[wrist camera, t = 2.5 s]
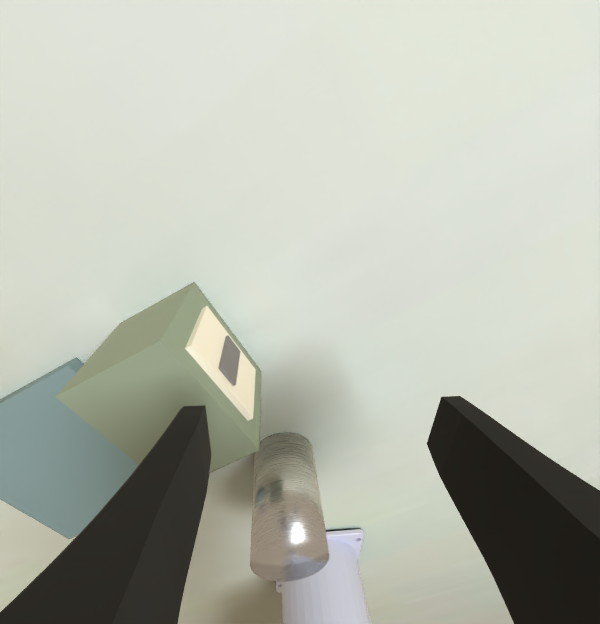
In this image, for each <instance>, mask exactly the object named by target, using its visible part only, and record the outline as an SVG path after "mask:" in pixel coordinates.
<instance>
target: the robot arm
mask: <svg viewBox="0 0 600 624" xmlns="http://www.w3.org/2000/svg"><path fill="white" fill-rule="evenodd" d="M427 445H428V448H429V450H430V453H431V455H432V458H433V461H434V463H435V466H436V468H437V470H438V473H439V475H440V477H441V479H442V481H443V483H444V485H445V487H446V489H447V491H448V493H449V494H450V496H451V498H452V500H453V502H454V504H455V506H456V508H457V509H458V511H459V513H460V515H461V517H462V519H463V520H464V522H465V524H466V526H467V528H468V530H469V531H470V533H471V535H472V537H473V539H474V541H475V542H476V544H477V546H478V548H479V550H480V552H481V553H482V555H483V557H484V559H485V561H486V563H487V565H488V567H489V569H490V571H491V573H492V575H493V577H494V579H495V581H496V584H497V586H498V588H499V590H500V593H501V595H502V597H503V599H504V602H505V604H506V606H507V608H508V611H509V613H510V615H511V617H512V620H513V622H514V624H600V491H599V490H598V489H596V488H595V487H593V486H591V485H590V484H588V483H587V482H585V481H583V480H582V479H580V478H579V477H577V476H576V475H574V474H573V473H571V472H569V471H568V470H566V469H565V468H563V467H562V466H560V465H559V464H557V463H556V462H554V461H553V460H551V459H550V458H548V457H547V456H545V455H544V454H542V453H541V452H539V451H538V450H536V449H535V448H534V447H532V446H531V445H529V444H528V443H526V442H525V441H524V440H522V439H521V438H519V437H518V436H516V435H515V434H514V433H512V432H511V431H509V430H508V429H507V428H505V427H504V426H502V425H501V424H500V423H498V422H497V421H495V420H494V419H493V418H491V417H490V416H488V415H487V414H485V413H484V412H483V411H481V410H480V409H478V408H477V407H476V406H474V405H473V404H471V403H470V402H468V401H467V400H465V399H464V398H462V397H460V396H452V397H441V400H440V403H439V407H438V410H437V413H436V416H435V419H434V423H433V426H432V429H431V432H430V435H429V439H428V442H427ZM210 463H211V447H210V439H209V431H208V423H207V414H206V406H205V405H203V406H183V407H182V408H181V409H180V410H179V412H178V413H177V415H176V416H175V418H174V419H173V420H172V422H171V423H170V425H169V426H168V427H167V429H166V430H165V432H164V433H163V434H162V436H161V437H160V438H159V440H158V441H157V442H156V444H155V445H154V446H153V448H152V449H151V450H150V452H149V453H148V454H147V455H146V457H145V458H144V459H143V460H142V462H141V463H140V464H139V466H138V467H137V468H136V469H135V471H134V472H133V473H132V474H131V476H130V477H129V478H128V479H127V480H126V482H125V483H124V484H123V485H122V486H121V487H120V489H119V490H118V491H117V492H116V493H115V494H114V496H113V497H112V498H111V499H110V500H109V501H108V503H107V504H106V505H105V506H104V507H103V508H102V510H101V511H100V512H99V513H98V514H97V515H96V516H95V517H94V518H93V520H92V521H91V522H90V523H89V524H88V525H87V526H86V527H85V528H84V529H83V530H82V532H81V533H80V534H79V535H78V536H77V537H76V538H75V539H74V540H73V541H72V542H71V543H70V544H69V545H68V546H67V547H66V548H65V549H64V550H63V551H62V552H61V553H60V555H59V556H58V557H57V558H56V559H55V560H54V561H53V562H52V563H51V564H50V565H49V566H48V567H47V568H46V569H45V570H44V571H43V572H42V573H40V574H39V575H38V576H37V577H36V578H35V579H34V580H33V581H32V582H31V583H30V584H29V585H28V586H27V587H26V588H25V589H24V590H23V591H22V592H21V593H20V594H19V595H18V596H17V597H16V598H15V599H14V600H13V601H12V602H11V603H10V604H9V605H8V606H7V607H5V608H4V609H3V610H2V611H1V612H0V624H177V623H178V617H179V611H180V606H181V601H182V596H183V591H184V586H185V582H186V577H187V573H188V569H189V565H190V561H191V556H192V552H193V548H194V544H195V539H196V535H197V531H198V527H199V523H200V518H201V514H202V510H203V505H204V501H205V497H206V492H207V486H208V478H209V471H210ZM326 537H327V543H328V550H329V560H328V562H327V564H326V565H325V567H324V568H323V569H321V570H320V571H319V572H317V573H315V574H313V575H311V576H309V577H306V578H303V579H300V580H295V581H286V582H279V581H276V592H278V593H282V616H283V624H371V620H370V615H369V611H368V607H367V602H366V598H365V593H364V589H363V584H362V580H361V575H360V571H359V566H358V560H359V556H360V551H361V547H362V543H363V538H364V533H363V530H361V529H355V530H342V531H330V532H326Z"/></svg>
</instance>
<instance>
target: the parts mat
mask: <svg viewBox="0 0 600 624" xmlns="http://www.w3.org/2000/svg"><path fill="white" fill-rule="evenodd" d="M83 365H84V364H83V363H82V362H81V361H79V360H78V359H77V358H75V359H73V360H71V361H69V362H67V363H66V364H64V365H62V366H60V367H58V368H57V369H55V370H53V371H51V372H49V373H48V374H46V375H44V376H42V377H40V378H38V379H37V380H35V381H33V382H31V383H29V384H28V385H26V386H24V387H22V388H20V389H19V390H17V391H15V392H13V393H11V394H10V395H8V396H6V397H4V398H2V399H0V499H1V500H2V501H4V502H6V503H7V504H9V505H11V506H13V507H14V508H16V509H18V510H20V511H21V512H23V513H25V514H26V515H28V516H30V517H32V518H33V519H35V520H37V521H39V522H40V523H42V524H44V525H46V526H47V527H49V528H51V529H52V530H54V531H56V532H58V533H59V534H61V535H63V536H65V537H66V538H68V539H71V538H73V537H75V536H77V535H79V534H80V533H81V532H82V530H83V529H84V528H85V527H86V526H87V525H88V524H89V523H90V522H91V521H92V520H93V518H94V517H95V516H96V515H97V514H98V513H99V512H100V511H101V510H102V508H103V507H104V506H105V505H106V504H107V503H108V501H109V500H110V499H111V498H112V497H113V496H114V494H115V493H116V492H117V491H118V490H119V489H120V487H121V486H122V485H123V484H124V483H125V482H126V480H127V479H128V478H129V477H130V476H131V474H132V473H133V472H134V471H135V469H136V468H137V467H138V466H139V464H137V463H136V462H135V461H134V460H133V459H131V458H130V457H129V456H128V455H126V454H125V453H124V452H123V451H121V450H120V449H119V448H118V447H116V446H115V445H114V444H113V443H112V442H110V441H109V440H108V439H107V438H105V437H104V436H103V435H102V434H100V433H99V432H98V431H97V430H96V429H94V428H93V427H92V426H91V425H89V424H88V423H87V422H86V421H84V420H83V419H82V418H81V417H80V416H78V415H77V414H76V413H75V412H73V411H72V410H71V409H70V408H68V407H67V406H66V405H65V404H63V403H62V402H61V401H60V400H59V399H57V398H56V396H57V394H58V393H59V392H60V391H61V390H62V389H63V388H64V386H65V385H66V384H67V383H68V382H69V381H70V380H71V379H72V377H73V376H74V375H75V374H76V373H77V372H78V371H79V369H80V368H81V367H82V366H83Z"/></svg>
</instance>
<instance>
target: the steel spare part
mask: <svg viewBox="0 0 600 624" xmlns="http://www.w3.org/2000/svg"><path fill="white" fill-rule="evenodd" d="M328 560H329V550H328V543H327V537H326V530H325V524H324V518H323V511H322V505H321V499H320V492H319V486H318V480H317V473H316V467H315V460H314V454H313V448H312V445H311V443H310V442H309V441H308V440H307V439H306V438H305V437H303V436H301V435H298V434H295V433H278V434H274V435H271V436H269V437H267V438H265V439H264V440H263V441H261V442H260V443H259V451H256V452H255V459H254V483H253V508H252V532H251V557H250V566H251V569H252V571H253V572H254V573H255V574H256V575H257V576H259V577H261V578H263V579H266V580H270V581H279V582H286V581H295V580H300V579H303V578H306V577H309V576H311V575H313V574H315V573H317V572H319V571H320V570H321V569H323V568H324V567H325V565H326V564H327V562H328Z"/></svg>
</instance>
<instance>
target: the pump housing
mask: <svg viewBox="0 0 600 624" xmlns="http://www.w3.org/2000/svg"><path fill="white" fill-rule="evenodd" d="M56 398H57V399H59V400H60V401H61V402H62V403H63V404H65V405H66V406H67V407H68V408H70V409H71V410H72V411H73V412H75V413H76V414H77V415H78V416H80V417H81V418H82V419H83V420H84V421H86V422H87V423H88V424H89V425H91V426H92V427H93V428H94V429H96V430H97V431H98V432H99V433H100V434H102V435H103V436H104V437H105V438H107V439H108V440H109V441H110V442H112V443H113V444H114V445H115V446H116V447H118V448H119V449H120V450H121V451H123V452H124V453H125V454H126V455H128V456H129V457H130V458H131V459H133V460H134V461H135V462H136V463H137V464H140V463H141V462H142V460H143V459H144V458H145V457H146V455H147V454H148V453H149V452H150V450H151V449H152V448H153V446H154V445H155V444H156V442H157V441H158V440H159V438H160V437H161V436H162V434H163V433H164V432H165V430H166V429H167V427H168V426H169V425H170V423H171V422H172V420H173V419H174V418H175V416H176V415H177V413H178V412H179V410H180V409H181V408H182V407H183V406H203V405H205V406H206V414H207V423H208V431H209V439H210V447H211V463H210V471H209V473H210V472H213V471H215V470H217V469H219V468H221V467H224V466H226V465H228V464H230V463H232V462H234V461H237V460H239V459H241V458H243V457H245V456H248V455H250V454H252V453H254V452H256V451H259V443H260V404H261V370H260V369H259V367H258V366H257V365H256V363H255V362H254V361H253V359H252V358H251V357H250V355H249V354H248V353H247V351H246V350H245V349H244V347H243V346H242V345H241V343H240V342H239V341H238V339H237V338H236V337H235V335H234V334H233V333H232V331H231V330H230V329H229V327H228V326H227V325H226V323H225V322H224V321H223V319H222V318H221V317H220V315H219V314H218V313H217V311H216V310H215V309H214V307H213V306H212V305H211V303H210V302H209V301H208V299H207V298H206V297H205V295H204V294H203V293H202V291H201V290H200V289H199V287H198V286H197V285H196V283H195V282H194V283H192V284H190V285H188V286H186V287H185V288H183V289H181V290H179V291H177V292H176V293H174V294H172V295H170V296H169V297H167V298H165V299H163V300H161V301H160V302H158V303H156V304H154V305H152V306H151V307H149V308H147V309H145V310H143V311H142V312H140V313H138V314H136V315H134V316H133V317H131V318H129V319H127V320H125V321H124V322H122V323H120V324H119V325H118V326H117V328H116V329H115V330H114V331H113V332H112V333H111V334H110V336H109V337H108V338H107V339H106V340H105V341H104V342H103V343H102V345H101V346H100V347H99V348H98V349H97V350H96V351H95V352H94V354H93V355H92V356H91V357H90V358H89V359H88V360H87V362H86V363H85V364H84V365H83V366H82V367H81V368H80V369H79V371H78V372H77V373H76V374H75V375H74V376H73V377H72V379H71V380H70V381H69V382H68V383H67V384H66V385H65V386H64V388H63V389H62V390H61V391H60V392H59V393H58V394H57V396H56Z"/></svg>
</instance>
